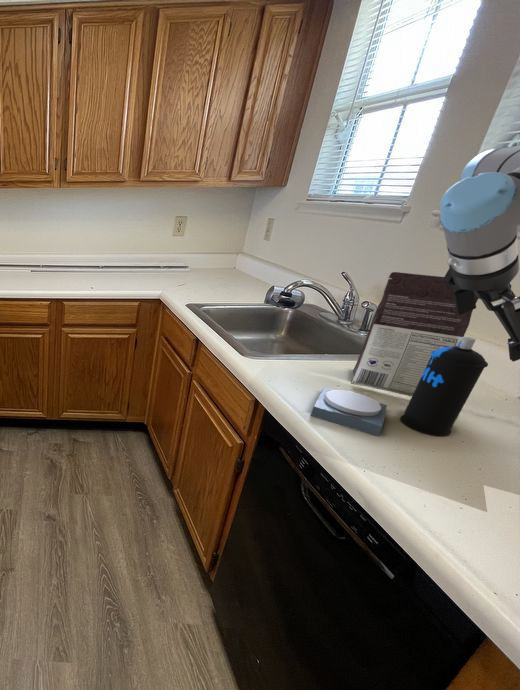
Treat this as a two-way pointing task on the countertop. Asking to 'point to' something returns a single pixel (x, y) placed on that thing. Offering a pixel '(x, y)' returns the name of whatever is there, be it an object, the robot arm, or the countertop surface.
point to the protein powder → (409, 332)
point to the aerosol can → (444, 388)
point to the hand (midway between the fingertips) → (492, 332)
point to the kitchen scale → (350, 410)
